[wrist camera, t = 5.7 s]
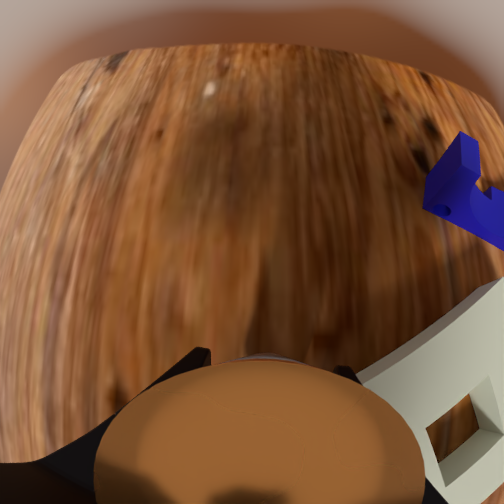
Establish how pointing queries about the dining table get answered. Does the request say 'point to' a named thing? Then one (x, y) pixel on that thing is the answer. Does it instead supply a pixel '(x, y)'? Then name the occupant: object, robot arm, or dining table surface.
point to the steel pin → (259, 440)
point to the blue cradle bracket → (465, 193)
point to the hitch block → (453, 391)
